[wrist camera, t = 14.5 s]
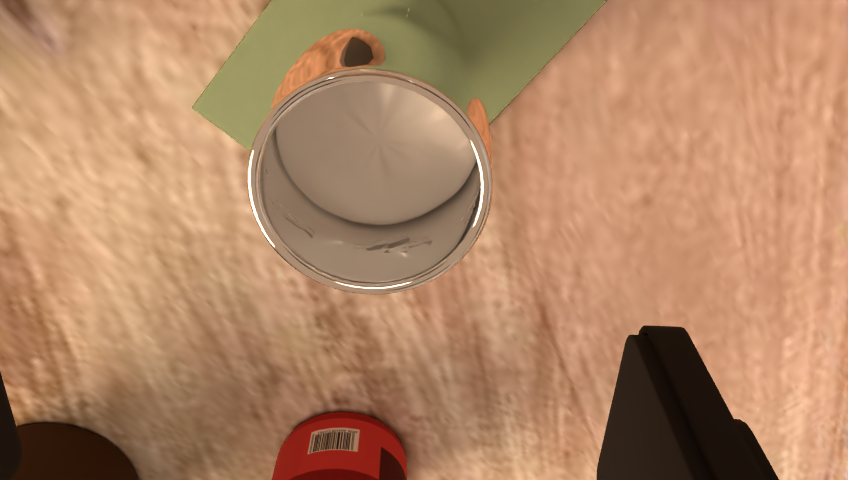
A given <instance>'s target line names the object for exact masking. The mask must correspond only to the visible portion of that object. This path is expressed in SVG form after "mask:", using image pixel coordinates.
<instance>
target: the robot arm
mask: <svg viewBox="0 0 848 480" xmlns="http://www.w3.org/2000/svg"><path fill="white" fill-rule="evenodd" d="M21 458H22V445H21V441H20V438H19V434H18V431H17V428H16V424H15V421H14V417H13V414H12V410H11V407H10V404H9V400H8V397H7V393H6V390H5V386H4V383H3V380H2V376H1V373H0V480H12V479H13V477H14V476H15V474H16V472H17V470H18V468H19V466H20V463H21ZM597 480H779V479H778V477H777V475H776V474H775V472H774V470H773V468H772V466H771V465H770V463H769V461H768V459H767V457H766V456H765V454H764V452H763V450H762V448H761V446H760V445H759V443H758V441H757V439H756V437H755V436H754V434H753V432H752V431H751V429H750V428H749V427H748V425H747V424H746V423H745V422H743V421H741V420H740V419H733V417H732V415H731V413H730V411H729V409H728V407H727V406H726V404H725V402H724V400H723V398H722V396H721V394H720V392H719V391H718V389H717V387H716V385H715V383H714V381H713V379H712V377H711V376H710V374H709V372H708V370H707V368H706V366H705V364H704V362H703V361H702V359H701V357H700V355H699V353H698V351H697V349H696V348H695V346H694V344H693V342H692V340H691V338H690V336H689V334H688V333H687V331H686V330H685V329H684V328H682V327H669V326H643V327H642V328H641V329H640V331H639V334H638V335H629V336H628V338H627V340H626V343H625V347H624V351H623V356H622V360H621V365H620V369H619V373H618V378H617V382H616V387H615V391H614V396H613V400H612V405H611V409H610V413H609V418H608V422H607V427H606V431H605V436H604V440H603V444H602V449H601V453H600V458H599V462H598V467H597Z"/></svg>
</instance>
